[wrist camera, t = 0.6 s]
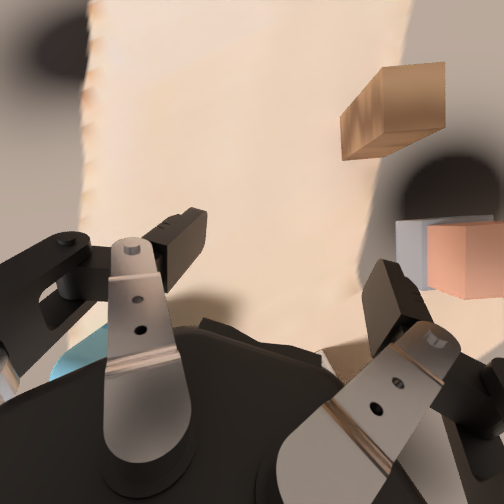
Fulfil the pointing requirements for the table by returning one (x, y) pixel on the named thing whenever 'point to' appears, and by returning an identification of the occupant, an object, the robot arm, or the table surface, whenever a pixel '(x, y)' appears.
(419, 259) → the slate block
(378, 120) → the walnut pillar
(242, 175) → the table surface
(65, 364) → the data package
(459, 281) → the brick block
